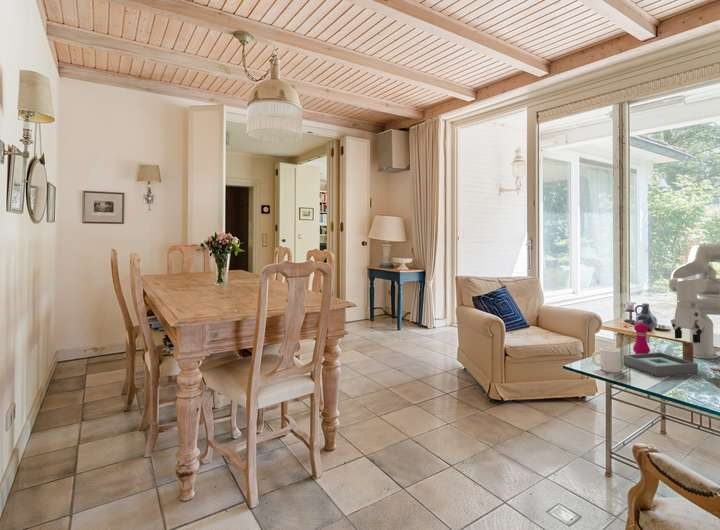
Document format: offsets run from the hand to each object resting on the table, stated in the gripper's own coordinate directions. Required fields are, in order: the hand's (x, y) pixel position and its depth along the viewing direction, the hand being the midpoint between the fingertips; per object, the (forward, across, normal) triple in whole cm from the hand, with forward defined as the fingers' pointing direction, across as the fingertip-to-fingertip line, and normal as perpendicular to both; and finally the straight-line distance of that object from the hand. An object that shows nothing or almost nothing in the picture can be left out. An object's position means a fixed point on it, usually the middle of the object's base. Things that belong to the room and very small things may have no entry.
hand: (687, 340), depth 190 cm
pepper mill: (+13, +20, +7) cm, 25 cm away
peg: (+13, +1, -1) cm, 13 cm away
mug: (+14, +6, +37) cm, 40 cm away
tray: (+14, +1, +14) cm, 20 cm away
